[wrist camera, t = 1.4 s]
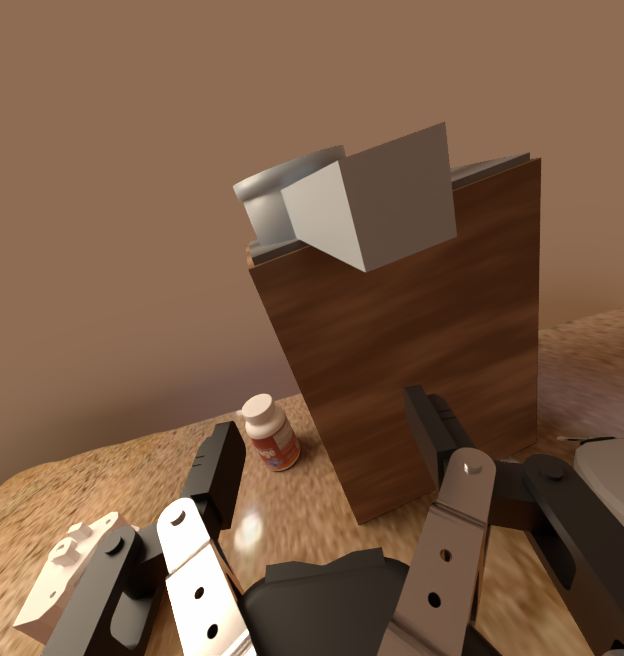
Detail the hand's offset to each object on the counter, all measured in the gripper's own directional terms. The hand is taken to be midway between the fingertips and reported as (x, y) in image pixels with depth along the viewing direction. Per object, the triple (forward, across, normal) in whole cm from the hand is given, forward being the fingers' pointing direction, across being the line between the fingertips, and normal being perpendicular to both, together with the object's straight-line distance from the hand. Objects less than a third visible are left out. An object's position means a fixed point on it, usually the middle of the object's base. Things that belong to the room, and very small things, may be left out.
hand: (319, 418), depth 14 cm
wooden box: (+20, -9, +26) cm, 34 cm away
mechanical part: (+8, +31, +30) cm, 43 cm away
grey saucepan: (+11, -2, -6) cm, 13 cm away
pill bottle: (+23, +11, +28) cm, 38 cm away
